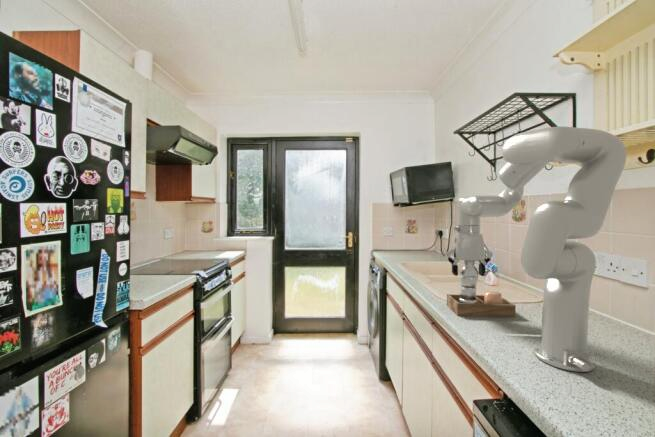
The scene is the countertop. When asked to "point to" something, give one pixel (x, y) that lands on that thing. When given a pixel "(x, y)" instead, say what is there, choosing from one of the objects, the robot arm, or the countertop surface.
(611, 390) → the countertop surface
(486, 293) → the peach colored egg
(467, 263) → the grey metal bottle
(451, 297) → the crate
